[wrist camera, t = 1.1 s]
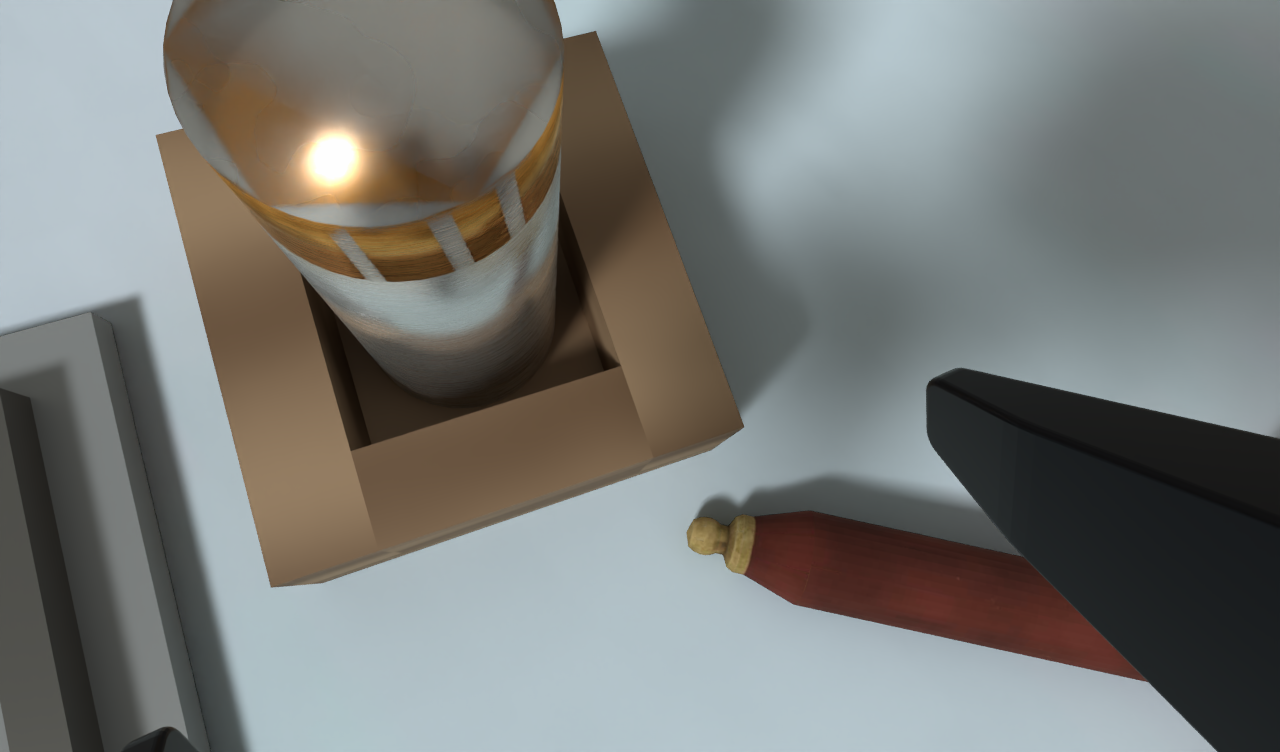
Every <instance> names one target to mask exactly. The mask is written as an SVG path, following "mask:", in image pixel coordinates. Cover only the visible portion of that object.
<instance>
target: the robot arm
mask: <svg viewBox="0 0 1280 752" xmlns="http://www.w3.org/2000/svg"><path fill="white" fill-rule="evenodd" d="M926 415H927V434H928V438H929V441H930V443H931V445H932V447H933V448H934V450H935V451H936V452H937V454H938V455H939V456H940V457H941V459H942V460H943V461H944V462H945V464H946V465H947V466H948V467H949V468H950V470H951V471H952V472H953V473H954V475H955V476H956V477H957V478H958V480H959V481H960V482H961V483H962V485H963V486H964V487H965V488H966V490H967V491H968V492H969V493H970V495H971V496H972V497H973V498H974V500H975V501H976V502H977V503H978V505H979V506H980V507H981V508H982V509H983V511H984V512H985V513H986V514H987V516H988V517H989V518H990V519H991V521H992V522H993V523H994V524H995V526H996V527H997V528H998V529H999V530H1000V532H1001V533H1002V534H1003V535H1004V536H1005V537H1006V539H1007V540H1008V541H1009V542H1010V543H1011V544H1012V545H1013V546H1014V547H1015V548H1016V549H1017V550H1018V552H1019V553H1020V554H1021V555H1022V556H1023V557H1024V558H1025V559H1026V560H1027V561H1028V562H1029V563H1030V564H1031V565H1032V566H1033V567H1034V568H1035V569H1036V570H1037V571H1038V572H1039V573H1040V574H1041V575H1042V576H1043V577H1044V578H1045V579H1046V580H1047V581H1048V582H1049V583H1050V584H1051V585H1052V586H1053V587H1054V588H1055V589H1056V590H1057V591H1058V592H1059V593H1060V594H1061V595H1062V596H1063V597H1064V598H1065V599H1066V600H1067V601H1068V602H1069V603H1070V604H1071V605H1072V606H1073V607H1074V608H1075V609H1076V610H1077V611H1078V612H1079V613H1080V614H1081V615H1082V616H1083V617H1084V618H1085V619H1086V620H1087V621H1088V622H1089V623H1090V624H1091V625H1092V626H1093V627H1094V628H1095V629H1096V630H1097V631H1098V632H1099V633H1100V634H1101V635H1102V636H1103V637H1104V638H1105V639H1106V640H1107V641H1108V642H1109V643H1110V644H1111V645H1112V646H1113V647H1114V648H1115V649H1116V650H1117V651H1118V652H1119V653H1120V654H1121V655H1122V656H1123V657H1124V658H1125V659H1126V660H1127V661H1128V662H1129V663H1130V664H1131V665H1132V666H1133V667H1134V668H1135V669H1136V670H1137V671H1138V672H1139V673H1140V674H1141V675H1142V676H1143V677H1144V678H1145V679H1146V680H1147V681H1148V682H1149V683H1150V684H1151V685H1152V686H1153V687H1154V688H1155V689H1156V690H1157V691H1158V692H1159V693H1160V694H1161V695H1162V696H1163V697H1164V698H1165V699H1166V700H1167V701H1168V702H1169V703H1170V704H1171V705H1172V706H1173V707H1174V708H1175V709H1176V710H1177V711H1178V712H1179V713H1180V714H1181V715H1182V716H1183V717H1184V718H1185V720H1186V721H1187V722H1188V723H1189V724H1190V725H1191V726H1192V727H1193V728H1194V729H1195V730H1196V731H1197V732H1198V733H1199V734H1200V735H1201V736H1202V737H1203V738H1204V739H1205V740H1206V741H1207V742H1208V743H1209V744H1210V745H1211V746H1212V747H1213V748H1214V749H1215V750H1216V751H1217V752H1280V439H1279V438H1274V437H1270V436H1265V435H1261V434H1256V433H1252V432H1247V431H1243V430H1238V429H1234V428H1229V427H1225V426H1221V425H1216V424H1212V423H1207V422H1203V421H1198V420H1194V419H1189V418H1185V417H1180V416H1176V415H1171V414H1167V413H1162V412H1158V411H1153V410H1149V409H1145V408H1140V407H1136V406H1131V405H1127V404H1122V403H1118V402H1113V401H1109V400H1104V399H1100V398H1095V397H1091V396H1086V395H1082V394H1077V393H1073V392H1068V391H1064V390H1060V389H1055V388H1051V387H1046V386H1042V385H1037V384H1033V383H1028V382H1024V381H1019V380H1015V379H1010V378H1006V377H1001V376H997V375H992V374H988V373H984V372H979V371H975V370H970V369H965V368H956V369H952V370H950V371H948V372H946V373H944V374H941V375H939V376H937V377H935V378H933V379H931V380H930V381H929V383H928V385H927V388H926ZM121 752H200V751H199V750H198V749H197V748H196V747H195V746H194V745H193V744H192V743H191V742H190V741H189V740H188V739H187V738H186V737H185V736H184V735H183V734H182V733H181V732H180V731H179V730H177V729H176V728H174V727H171V726H166V727H162V728H159V729H157V730H155V731H153V732H150V733H148V734H146V735H144V736H142V737H139V738H137V739H135V740H133V741H131V742H130V743H128V744H127V745H126V746H125V747H124V748H123V749H122V750H121Z"/></svg>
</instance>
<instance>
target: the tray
mask: <svg viewBox="0 0 1280 752" xmlns="http://www.w3.org/2000/svg"><path fill="white" fill-rule="evenodd" d="M166 726H171V727H174V728H176V729H177V730H179V731H180V732H181V733H182V734H183V735H184V736H185V737H186V738H187V739H188V740H189V741H190V742H191V743H192V744H193V745H194V746H195V747H196V748H197V749H198V750H199V751H200V752H211V751H210V747H209V742H208V738H207V734H206V729H205V725H204V721H203V716H202V712H201V708H200V704H199V699H198V695H197V691H196V686H195V682H194V678H193V673H192V669H191V665H190V661H189V656H188V652H187V648H186V643H185V639H184V635H183V631H182V626H181V622H180V618H179V613H178V609H177V605H176V600H175V596H174V592H173V588H172V583H171V579H170V575H169V570H168V566H167V562H166V557H165V553H164V549H163V545H162V540H161V536H160V532H159V527H158V523H157V519H156V515H155V510H154V506H153V502H152V497H151V493H150V489H149V484H148V480H147V476H146V472H145V467H144V463H143V459H142V454H141V450H140V446H139V442H138V437H137V433H136V429H135V424H134V420H133V416H132V411H131V407H130V403H129V399H128V394H127V390H126V386H125V381H124V377H123V373H122V368H121V364H120V360H119V356H118V351H117V347H116V343H115V338H114V334H113V330H112V326H111V323H110V322H108V321H106V320H105V319H103V318H101V317H99V316H97V315H95V314H94V313H92V312H89V313H85V314H81V315H78V316H74V317H70V318H66V319H63V320H59V321H55V322H52V323H48V324H44V325H40V326H37V327H33V328H29V329H26V330H22V331H18V332H14V333H11V334H7V335H3V336H0V752H121V750H122V749H123V748H124V747H125V746H126V745H127V744H128V743H130V742H131V741H133V740H135V739H137V738H139V737H142V736H144V735H146V734H148V733H150V732H153V731H155V730H157V729H159V728H162V727H166Z"/></svg>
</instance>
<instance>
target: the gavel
mask: <svg viewBox="0 0 1280 752" xmlns="http://www.w3.org/2000/svg"><path fill="white" fill-rule="evenodd" d="M687 539H688V546H689V547H690V548H691V549H692V550H693V551H695V552H697V553H699V554H702V555H711V554H714V553H718V554H722V555H723V556H724V560H725V563H726V567H727V568H728V569H730V570H731V571H732V572H735V573H739V574H743V575H745V576H747V577H748V578H750V579H752V580H753V581H755V582H757V583H758V584H760V585H762V586H763V587H765V588H767V589H769V590H770V591H772V592H774V593H775V594H777V595H779V596H780V597H782V598H784V599H785V600H787V601H789V602H790V603H792V604H794V605H798V606H803V607H808V608H812V609H817V610H821V611H826V612H830V613H835V614H840V615H844V616H849V617H853V618H858V619H862V620H867V621H872V622H876V623H881V624H885V625H890V626H894V627H899V628H904V629H908V630H913V631H917V632H922V633H926V634H931V635H935V636H940V637H945V638H949V639H954V640H958V641H963V642H967V643H972V644H977V645H981V646H986V647H990V648H995V649H999V650H1004V651H1009V652H1013V653H1018V654H1022V655H1027V656H1031V657H1036V658H1041V659H1045V660H1050V661H1054V662H1059V663H1063V664H1068V665H1073V666H1077V667H1082V668H1086V669H1091V670H1095V671H1100V672H1105V673H1109V674H1114V675H1118V676H1123V677H1127V678H1132V679H1136V680H1141V681H1146V682H1148V681H1147V680H1146V679H1145V678H1144V677H1143V676H1142V675H1141V674H1140V673H1139V672H1138V671H1137V670H1136V669H1135V668H1134V667H1133V666H1132V665H1131V664H1130V663H1129V662H1128V661H1127V660H1126V659H1125V658H1124V657H1123V656H1122V655H1121V654H1120V653H1119V652H1118V651H1117V650H1116V649H1115V648H1114V647H1113V646H1112V645H1111V644H1110V643H1109V642H1108V641H1107V640H1106V639H1105V638H1104V637H1103V636H1102V635H1101V634H1100V633H1099V632H1098V631H1097V630H1096V629H1095V628H1094V627H1093V626H1092V625H1091V624H1090V623H1089V622H1088V621H1087V620H1086V619H1085V618H1084V617H1083V616H1082V615H1081V614H1080V613H1079V612H1078V611H1077V610H1076V609H1075V608H1074V607H1073V606H1072V605H1071V604H1070V603H1069V602H1068V601H1067V600H1066V599H1065V598H1064V597H1063V596H1062V595H1061V594H1060V593H1059V592H1058V591H1057V590H1056V589H1055V588H1054V587H1053V586H1052V585H1051V584H1050V583H1049V582H1048V581H1047V580H1046V579H1045V578H1044V577H1043V576H1042V575H1041V574H1040V573H1039V572H1038V571H1037V570H1036V569H1035V568H1034V567H1033V566H1032V565H1031V564H1030V563H1029V562H1028V561H1027V560H1026V559H1025V558H1024V557H1021V556H1016V555H1012V554H1007V553H1003V552H998V551H993V550H989V549H984V548H980V547H975V546H970V545H966V544H961V543H957V542H952V541H947V540H943V539H938V538H934V537H929V536H924V535H920V534H915V533H911V532H906V531H902V530H897V529H892V528H888V527H883V526H879V525H874V524H869V523H865V522H860V521H856V520H851V519H846V518H842V517H837V516H833V515H828V514H823V513H819V512H814V511H800V512H791V513H782V514H773V515H764V516H755V517H752V516H748V515H743V514H742V515H740V516H737V517H735V519H734V520H733V521H732V522H731V524H730V525H729V526H725V525H721V524H720V523H719V522H718V521H716V520H714V519H712V518H708V517H699V518H696V519H694V520H693V522H692V523H691V525H690V527H689V528H688V530H687Z"/></svg>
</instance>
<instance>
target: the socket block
mask: <svg viewBox="0 0 1280 752" xmlns="http://www.w3.org/2000/svg"><path fill="white" fill-rule="evenodd" d="M563 42H564V79H563V108H562V136H561V164H560V192H559V220H558V248H557V277H556V305H555V328H554V334H553V339H552V342H551V346H550V349H549V351H548V353H547V356H546V358H545V360H544V361H543V363H542V365H541V366H540V368H539V369H538V370H537V372H536V373H535V374H534V375H533V377H532V378H531V379H530V380H529V381H528V382H527V383H525V384H524V385H523V386H522V387H521V388H519V389H518V390H517V391H515V392H514V393H512V394H511V395H509V396H507V397H505V398H503V399H501V400H499V401H496V402H493V403H491V404H487V405H483V406H479V407H472V408H448V407H441V406H437V405H433V404H430V403H427V402H425V401H422V400H420V399H417V398H416V397H414V396H412V395H410V394H409V393H407V392H406V391H404V390H403V389H402V388H400V387H399V386H398V385H397V384H396V383H395V382H394V381H393V380H392V379H391V378H390V377H389V376H388V375H387V374H386V373H385V372H384V370H383V369H382V368H381V367H380V366H379V364H378V363H377V362H376V361H375V360H374V359H373V357H372V356H371V355H370V354H369V353H368V352H367V350H366V349H365V348H364V347H363V346H362V344H361V343H360V342H359V341H358V340H357V339H356V337H355V336H354V335H353V334H352V333H351V331H350V330H349V329H348V328H347V327H346V326H345V324H344V323H343V322H342V321H341V320H340V318H339V317H338V316H337V315H336V314H335V313H334V311H333V310H332V309H331V308H330V307H329V306H328V304H327V303H326V302H325V301H324V300H323V298H322V297H321V296H320V295H319V294H318V293H317V291H316V290H315V289H314V288H313V287H312V285H311V284H310V283H309V282H308V281H307V280H306V278H305V277H304V276H303V275H302V274H301V273H300V271H299V270H298V269H297V268H296V267H295V265H294V264H293V263H292V262H291V261H290V260H289V258H288V257H287V256H286V255H285V254H284V252H283V251H282V250H281V249H280V248H279V247H278V245H277V244H276V243H275V242H274V241H273V239H272V238H271V237H270V236H269V235H268V234H267V232H266V231H265V230H264V229H263V228H262V227H261V225H260V224H259V223H258V222H257V221H256V219H255V218H254V217H253V216H252V215H251V214H250V212H249V211H248V210H247V209H246V208H245V206H244V205H243V204H242V203H241V202H240V201H239V199H238V198H237V197H236V196H235V195H234V193H233V192H232V191H231V190H230V189H229V188H228V186H227V185H226V184H225V183H224V182H223V181H222V179H221V178H220V177H219V176H218V175H217V173H216V172H215V171H214V170H213V169H212V168H211V166H210V165H209V164H208V163H207V162H206V160H205V159H204V158H203V157H202V156H201V154H200V153H199V152H198V150H197V149H196V148H195V146H194V145H193V143H192V142H191V141H190V139H189V138H188V137H187V135H186V133H185V131H184V129H180V130H175V131H171V132H167V133H163V134H159V135H156V138H157V142H158V146H159V150H160V154H161V158H162V162H163V166H164V170H165V173H166V177H167V181H168V185H169V189H170V193H171V197H172V201H173V205H174V209H175V213H176V217H177V220H178V224H179V228H180V232H181V236H182V240H183V244H184V248H185V252H186V256H187V260H188V264H189V268H190V271H191V275H192V279H193V283H194V287H195V291H196V295H197V299H198V303H199V307H200V311H201V315H202V319H203V322H204V326H205V330H206V334H207V338H208V342H209V346H210V350H211V354H212V358H213V362H214V366H215V369H216V373H217V377H218V381H219V385H220V389H221V393H222V397H223V401H224V405H225V409H226V413H227V417H228V420H229V424H230V428H231V432H232V436H233V440H234V444H235V448H236V452H237V456H238V460H239V464H240V468H241V471H242V475H243V479H244V483H245V487H246V491H247V495H248V499H249V503H250V507H251V511H252V515H253V518H254V522H255V526H256V530H257V534H258V538H259V542H260V546H261V550H262V554H263V558H264V562H265V566H266V569H267V573H268V577H269V581H270V585H271V587H283V586H294V585H306V584H318V583H324V582H327V581H330V580H333V579H335V578H338V577H341V576H344V575H347V574H350V573H353V572H356V571H359V570H362V569H365V568H368V567H371V566H373V565H376V564H379V563H382V562H385V561H388V560H391V559H394V558H397V557H400V556H403V555H406V554H409V553H411V552H414V551H417V550H420V549H423V548H426V547H429V546H432V545H435V544H438V543H441V542H444V541H447V540H449V539H452V538H455V537H458V536H461V535H464V534H467V533H470V532H473V531H476V530H479V529H482V528H485V527H487V526H490V525H493V524H496V523H499V522H502V521H505V520H508V519H511V518H514V517H517V516H520V515H523V514H525V513H528V512H531V511H534V510H537V509H540V508H543V507H546V506H549V505H552V504H555V503H558V502H561V501H564V500H566V499H569V498H572V497H575V496H578V495H581V494H584V493H587V492H590V491H593V490H596V489H599V488H602V487H604V486H607V485H610V484H613V483H616V482H619V481H622V480H625V479H628V478H631V477H634V476H637V475H640V474H642V473H645V472H648V471H651V470H654V469H657V468H660V467H663V466H666V465H669V464H672V463H675V462H678V461H680V460H683V459H686V458H689V457H692V456H695V455H698V454H701V453H704V452H707V451H710V450H712V449H713V448H715V447H716V446H718V445H719V444H721V443H722V442H723V441H725V440H726V439H728V438H729V437H731V436H732V435H734V434H735V433H736V432H738V431H739V430H741V429H742V428H744V425H743V422H742V419H741V417H740V414H739V411H738V409H737V406H736V403H735V401H734V398H733V395H732V393H731V390H730V387H729V385H728V382H727V379H726V377H725V374H724V371H723V369H722V366H721V363H720V361H719V358H718V355H717V353H716V350H715V347H714V345H713V342H712V339H711V337H710V334H709V331H708V329H707V326H706V323H705V321H704V318H703V315H702V313H701V310H700V307H699V305H698V302H697V299H696V297H695V294H694V291H693V289H692V286H691V283H690V281H689V278H688V275H687V273H686V270H685V267H684V265H683V262H682V259H681V257H680V254H679V251H678V249H677V246H676V243H675V241H674V238H673V235H672V233H671V230H670V227H669V225H668V222H667V219H666V217H665V214H664V211H663V209H662V206H661V203H660V201H659V198H658V195H657V193H656V190H655V187H654V185H653V182H652V179H651V177H650V174H649V172H648V169H647V166H646V164H645V161H644V158H643V156H642V153H641V150H640V148H639V145H638V142H637V140H636V137H635V134H634V132H633V129H632V126H631V124H630V121H629V118H628V116H627V113H626V110H625V108H624V105H623V102H622V100H621V97H620V94H619V92H618V89H617V86H616V84H615V81H614V78H613V76H612V73H611V70H610V68H609V65H608V62H607V60H606V57H605V54H604V52H603V49H602V46H601V44H600V41H599V38H598V36H597V33H596V31H594V32H590V33H586V34H581V35H577V36H573V37H569V38H564V39H563Z"/></svg>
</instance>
